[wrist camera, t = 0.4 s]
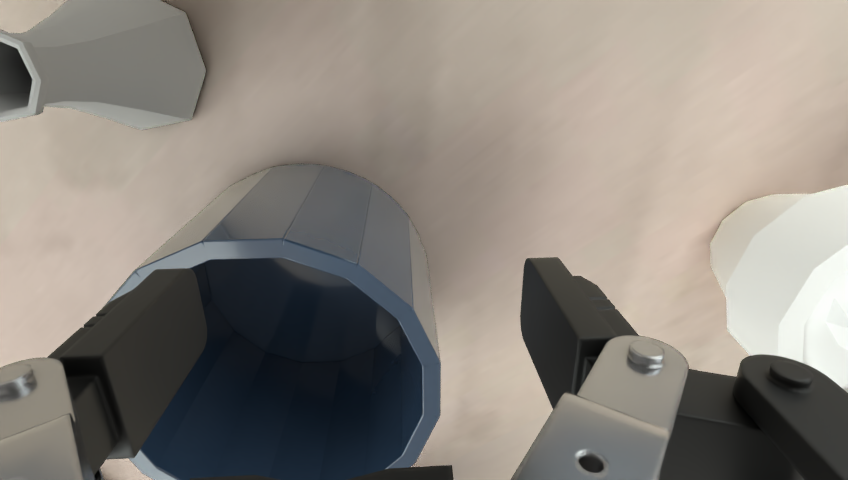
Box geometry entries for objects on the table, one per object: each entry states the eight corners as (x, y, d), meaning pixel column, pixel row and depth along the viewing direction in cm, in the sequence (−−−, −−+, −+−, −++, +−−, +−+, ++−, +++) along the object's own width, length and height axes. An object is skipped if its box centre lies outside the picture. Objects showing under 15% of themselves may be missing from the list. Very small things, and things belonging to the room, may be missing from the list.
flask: (54, -27, 24) (-164, -67, 14) (205, -4, 24) (88, -29, 15) (75, 121, 26) (-97, 165, 17) (210, 137, 27) (114, 188, 18)
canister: (174, 165, 28) (36, 245, 17) (425, 160, 28) (441, 234, 18) (218, 370, 33) (135, 524, 23) (426, 362, 34) (439, 509, 23)
